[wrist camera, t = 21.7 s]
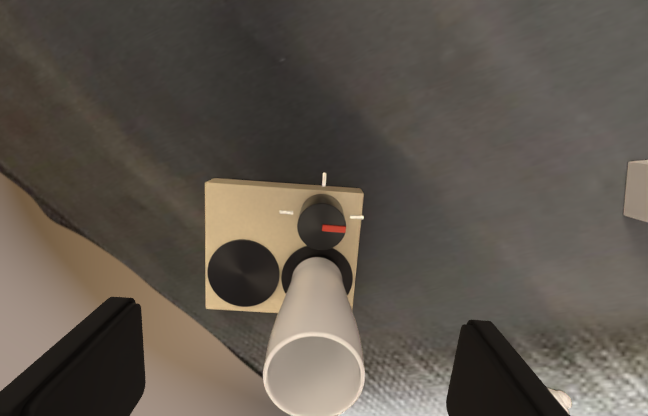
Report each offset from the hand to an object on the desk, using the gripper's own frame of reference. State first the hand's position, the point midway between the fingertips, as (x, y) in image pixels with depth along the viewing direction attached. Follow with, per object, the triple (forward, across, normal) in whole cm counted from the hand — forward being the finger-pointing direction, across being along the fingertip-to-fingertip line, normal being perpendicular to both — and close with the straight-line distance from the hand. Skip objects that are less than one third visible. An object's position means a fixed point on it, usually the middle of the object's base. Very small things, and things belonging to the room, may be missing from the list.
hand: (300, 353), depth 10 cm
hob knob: (+26, -1, +3) cm, 26 cm away
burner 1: (+25, +7, +10) cm, 28 cm away
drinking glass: (+25, -1, +10) cm, 27 cm away
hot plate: (+28, +3, +8) cm, 30 cm away
